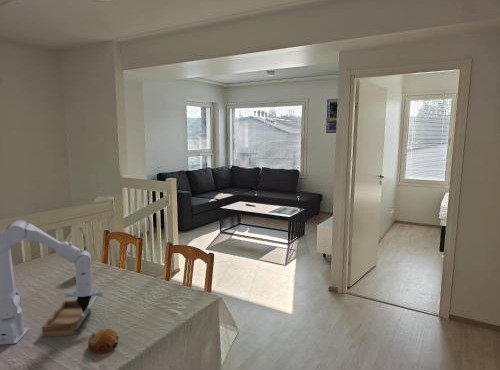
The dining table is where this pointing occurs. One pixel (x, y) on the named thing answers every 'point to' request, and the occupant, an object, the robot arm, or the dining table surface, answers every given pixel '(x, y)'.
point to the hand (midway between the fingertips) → (85, 312)
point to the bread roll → (103, 341)
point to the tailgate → (86, 312)
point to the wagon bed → (63, 320)
